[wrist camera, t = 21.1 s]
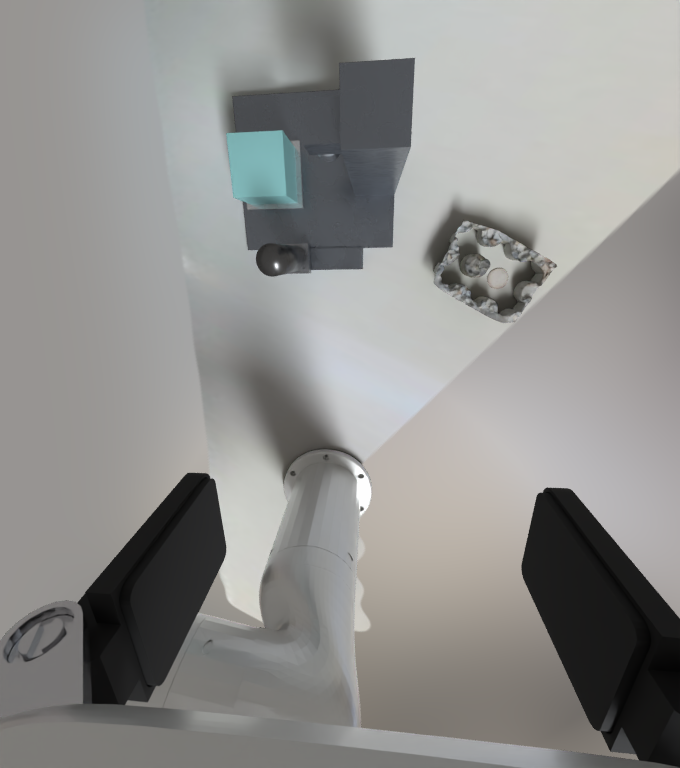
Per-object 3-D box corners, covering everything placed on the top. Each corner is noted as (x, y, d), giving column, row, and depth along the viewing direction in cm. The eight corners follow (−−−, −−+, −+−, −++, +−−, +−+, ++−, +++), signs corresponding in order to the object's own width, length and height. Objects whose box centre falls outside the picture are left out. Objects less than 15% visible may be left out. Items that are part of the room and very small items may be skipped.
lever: (310, 272, 39) (290, 278, 29) (284, 273, 39) (255, 279, 29) (309, 243, 38) (287, 240, 28) (282, 244, 38) (251, 240, 28)
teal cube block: (297, 203, 36) (286, 195, 32) (251, 204, 37) (233, 197, 32) (294, 147, 35) (282, 130, 30) (245, 149, 35) (226, 133, 30)
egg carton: (545, 264, 38) (564, 265, 34) (502, 324, 40) (515, 332, 37) (461, 215, 37) (471, 210, 33) (423, 280, 39) (428, 283, 36)
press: (391, 268, 39) (404, 279, 22) (252, 270, 40) (167, 281, 24) (397, 91, 33) (420, -75, 17) (236, 100, 35) (107, -43, 18)
